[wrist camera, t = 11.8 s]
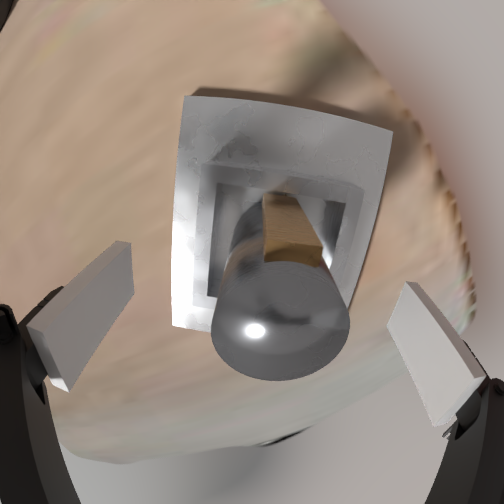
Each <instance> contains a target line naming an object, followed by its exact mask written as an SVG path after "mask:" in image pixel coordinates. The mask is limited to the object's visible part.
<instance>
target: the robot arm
mask: <svg viewBox="0 0 504 504" xmlns="http://www.w3.org/2000/svg"><path fill="white" fill-rule="evenodd" d="M12 1H13V0H0V29H1V27H2V25H3V23H4V21H5V19H6V16H7V14H8V12H9V9H10V7H11V4H12ZM133 295H134V284H133V272H132V255H131V243H128V242H122V241H116V242H115V243H113V244H112V245H111V246H110V247H109V248H108V249H106V250H105V251H104V252H103V253H102V254H100V255H99V256H98V257H97V258H96V259H95V260H94V261H92V262H91V263H90V264H89V265H88V266H87V267H86V268H85V269H83V270H82V271H81V272H80V273H79V274H78V275H77V276H76V277H75V278H74V279H72V280H71V281H70V282H69V283H68V284H67V285H66V286H65V287H63V286H61V287H59V288H57V289H55V290H53V291H51V292H50V293H49V294H48V295H47V296H46V297H45V298H44V300H42V301H41V302H40V303H39V304H38V305H37V306H36V307H35V308H33V309H32V310H31V311H30V312H29V314H28V315H27V316H26V317H25V318H24V319H23V320H22V321H21V322H20V323H19V324H17V322H16V319H15V316H14V314H13V311H12V309H11V308H10V307H9V306H8V305H5V304H0V500H1V503H2V504H81V502H80V500H79V498H78V496H77V493H76V491H75V488H74V486H73V484H72V481H71V478H70V476H69V473H68V470H67V467H66V465H65V461H64V459H63V455H62V452H61V449H60V446H59V442H58V439H57V435H56V431H55V427H54V423H53V419H52V415H51V410H50V406H49V400H48V395H47V389H46V386H45V383H44V381H43V380H44V379H45V377H46V376H47V374H48V376H49V378H50V380H51V382H52V384H53V385H54V386H56V387H59V388H61V389H63V390H65V391H67V392H70V390H71V389H72V387H73V385H74V384H75V382H76V380H77V379H78V377H79V375H80V374H81V372H82V371H83V369H84V367H85V366H86V364H87V363H88V361H89V359H90V358H91V356H92V355H93V353H94V352H95V350H96V349H97V347H98V346H99V344H100V343H101V341H102V339H103V338H104V336H105V335H106V334H107V332H108V331H109V329H110V328H111V326H112V325H113V323H114V322H115V320H116V319H117V317H118V316H119V315H120V313H121V312H122V310H123V309H124V307H125V306H126V305H127V303H128V302H129V300H130V299H131V298H132V296H133ZM387 328H388V330H389V332H390V334H391V336H392V338H393V340H394V342H395V344H396V346H397V348H398V350H399V352H400V354H401V356H402V358H403V360H404V362H405V364H406V366H407V368H408V370H409V372H410V375H411V377H412V379H413V381H414V383H415V385H416V388H417V389H418V392H419V394H420V397H421V399H422V401H423V403H424V406H425V408H426V410H427V413H428V415H429V418H430V420H431V423H432V425H433V427H434V426H439V425H443V424H446V423H447V422H448V421H449V420H450V419H451V418H452V417H453V416H454V415H455V414H456V416H457V420H456V421H455V422H454V424H453V425H452V426H451V427H450V428H449V429H448V430H447V431H446V432H445V433H444V434H443V436H442V437H445V436H446V435H447V434H448V433H449V432H450V433H451V434H450V436H449V437H448V438H447V439H448V440H449V441H448V444H447V447H446V451H445V453H444V457H443V459H442V462H441V465H440V468H439V471H438V473H437V476H436V478H435V481H434V483H433V486H432V488H431V491H430V493H429V495H428V497H427V500H426V502H425V504H504V382H503V381H502V380H500V379H497V378H494V379H492V380H491V379H490V378H489V376H488V375H487V373H486V371H485V370H484V368H483V367H482V365H481V364H480V363H479V361H478V359H477V358H475V355H474V354H473V352H471V349H470V348H469V346H468V345H467V344H466V342H465V341H464V340H462V339H461V338H460V336H459V335H458V333H457V332H456V331H455V329H454V328H453V327H452V325H451V324H450V323H449V321H448V320H447V319H446V318H445V316H444V315H443V314H442V312H441V311H440V310H439V309H438V307H437V306H436V305H435V304H434V302H433V301H432V300H431V299H430V297H429V296H428V295H427V294H426V293H425V291H424V290H423V289H422V288H421V287H420V285H419V284H418V283H415V282H407V281H406V282H405V284H404V287H403V289H402V292H401V294H400V296H399V299H398V301H397V304H396V306H395V308H394V311H393V313H392V315H391V317H390V319H389V322H388V324H387Z"/></svg>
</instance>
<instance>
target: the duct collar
mask: <svg viewBox="0 0 504 504" xmlns="http://www.w3.org/2000/svg"><path fill="white" fill-rule="evenodd" d="M392 137H393V131H390V130H387V129H384V128H381V127H377V126H374V125H371V124H367V123H364V122H360V121H356V120H353V119H349V118H345V117H341V116H337V115H332V114H328V113H324V112H319V111H314V110H309V109H304V108H299V107H293V106H287V105H281V104H275V103H268V102H261V101H252V100H244V99H234V98H222V97H207V96H184V104H183V111H182V119H181V127H180V136H179V145H178V155H177V166H176V179H175V193H174V210H173V234H172V324H173V326H178V327H183V328H189V329H194V330H200V331H205V332H211V324H212V318H213V314H214V310H215V306H216V302H217V298H218V293H219V289H220V285H221V281H222V277H223V273H224V269H225V265H226V261H227V257H228V253H229V249H230V245H231V241H232V237H233V233H234V230H235V227H236V224H237V222H238V220H239V219H240V217H241V216H242V215H243V214H244V213H245V212H246V211H247V210H249V209H250V208H252V207H254V206H256V205H259V204H262V201H263V194H264V193H266V194H273V195H281V196H288V197H294V198H296V199H297V201H298V202H299V204H300V206H301V208H302V209H303V211H304V213H305V214H306V216H307V218H308V220H309V222H310V223H311V225H312V227H313V229H314V230H315V232H316V234H317V236H318V238H319V239H320V241H321V243H322V245H323V251H322V256H323V258H324V260H325V262H326V264H327V266H328V268H329V270H330V273H331V275H332V277H333V279H334V281H335V283H336V285H337V287H338V290H339V292H340V294H341V296H342V298H343V301H344V303H345V305H346V307H347V309H348V306H349V303H350V301H351V298H352V295H353V292H354V289H355V286H356V283H357V280H358V277H359V274H360V271H361V268H362V264H363V261H364V258H365V254H366V251H367V248H368V244H369V241H370V237H371V233H372V230H373V226H374V222H375V218H376V214H377V210H378V206H379V202H380V198H381V194H382V189H383V185H384V180H385V175H386V170H387V165H388V160H389V155H390V149H391V143H392Z"/></svg>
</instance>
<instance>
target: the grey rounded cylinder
mask: <svg viewBox="0 0 504 504" xmlns="http://www.w3.org/2000/svg"><path fill="white" fill-rule="evenodd" d="M322 251H323V245H322V243H321V241H320V239H319V238H318V236H317V234H316V232H315V230H314V229H313V227H312V225H311V223H310V222H309V220H308V218H307V216H306V214H305V213H304V211H303V209H302V208H301V206H300V204H299V202H298V201H297V199H296V198H294V197H288V196H281V195H273V194H266V193H264V194H263V201H262V204H259V205H256V206H254V207H252V208H250V209H249V210H247V211H246V212H245V213H244V214H243V215H242V216H241V217H240V219H239V220H238V222H237V224H236V227H235V230H234V233H233V237H232V241H231V245H230V249H229V253H228V257H227V261H226V265H225V269H224V273H223V277H222V281H221V285H220V289H219V293H218V298H217V302H216V306H215V310H214V314H213V318H212V324H211V337H212V342H213V345H214V347H215V349H216V351H217V353H218V354H219V356H220V357H221V358H222V359H223V361H225V362H226V363H227V364H228V365H229V366H230V367H232V368H233V369H235V370H236V371H238V372H240V373H242V374H244V375H246V376H249V377H252V378H256V379H261V380H268V381H285V380H292V379H297V378H301V377H304V376H307V375H309V374H312V373H314V372H316V371H318V370H320V369H321V368H323V367H324V366H326V365H327V364H328V363H330V362H331V361H332V360H333V359H334V358H335V357H336V356H337V355H338V354H339V352H340V351H341V349H342V348H343V346H344V344H345V342H346V340H347V337H348V334H349V329H350V318H349V313H348V310H347V307H346V305H345V303H344V301H343V298H342V296H341V294H340V292H339V290H338V287H337V285H336V283H335V281H334V279H333V277H332V275H331V273H330V270H329V268H328V266H327V264H326V262H325V260H324V258H323V256H322Z"/></svg>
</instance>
